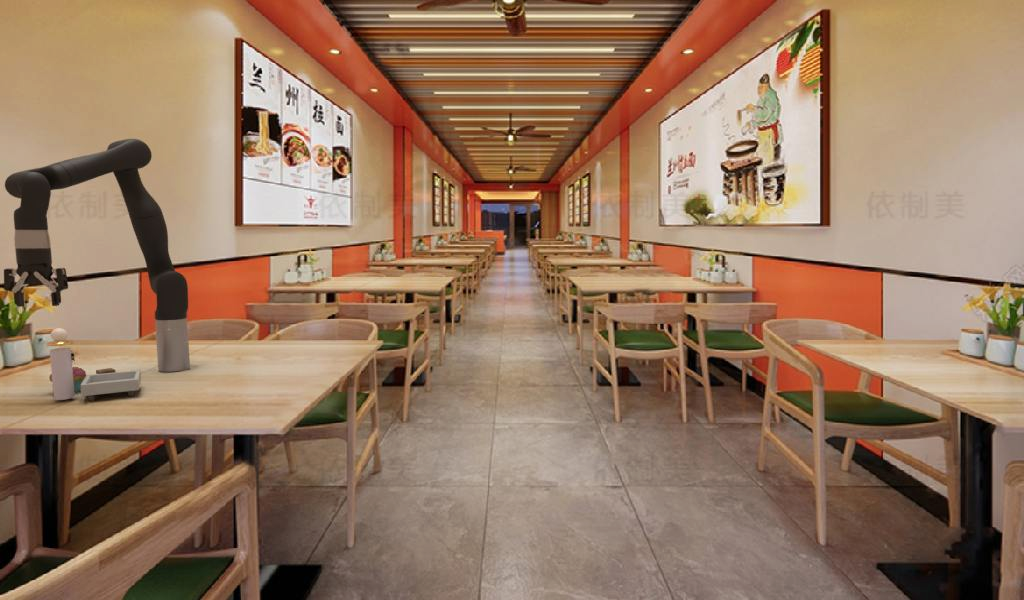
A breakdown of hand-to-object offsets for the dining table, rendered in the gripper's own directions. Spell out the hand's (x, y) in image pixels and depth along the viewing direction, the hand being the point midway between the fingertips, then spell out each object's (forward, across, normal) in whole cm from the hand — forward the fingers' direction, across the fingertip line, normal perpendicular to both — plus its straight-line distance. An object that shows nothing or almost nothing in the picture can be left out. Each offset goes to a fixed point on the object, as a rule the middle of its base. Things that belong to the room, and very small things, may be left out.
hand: (38, 306), depth 161 cm
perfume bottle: (+26, -7, +5) cm, 27 cm away
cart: (+25, -18, +1) cm, 31 cm away
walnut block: (+26, -9, -14) cm, 31 cm away
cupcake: (+26, -4, -5) cm, 26 cm away
